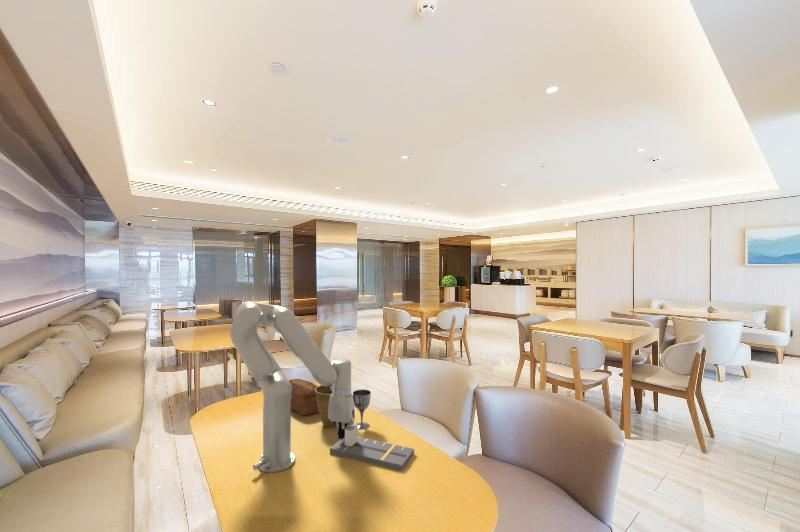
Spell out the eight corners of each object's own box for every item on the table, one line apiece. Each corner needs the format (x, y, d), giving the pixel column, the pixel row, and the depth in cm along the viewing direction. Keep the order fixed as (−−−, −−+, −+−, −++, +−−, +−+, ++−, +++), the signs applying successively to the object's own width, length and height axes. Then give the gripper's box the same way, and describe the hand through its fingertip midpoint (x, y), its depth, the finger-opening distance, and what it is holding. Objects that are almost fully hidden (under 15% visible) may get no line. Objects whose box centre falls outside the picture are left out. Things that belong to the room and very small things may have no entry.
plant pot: (345, 431, 152) (344, 394, 152) (311, 430, 152) (311, 394, 152) (350, 416, 167) (350, 382, 167) (319, 416, 167) (319, 382, 167)
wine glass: (349, 427, 155) (349, 393, 155) (359, 420, 162) (359, 388, 162) (364, 431, 152) (364, 396, 152) (374, 424, 159) (374, 391, 159)
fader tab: (351, 446, 134) (351, 429, 134) (344, 445, 135) (344, 428, 136) (358, 440, 139) (358, 424, 139) (351, 439, 140) (351, 423, 140)
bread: (303, 419, 164) (303, 393, 164) (276, 402, 184) (276, 379, 184) (328, 411, 174) (328, 386, 174) (300, 396, 194) (300, 374, 194)
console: (402, 471, 122) (402, 464, 122) (329, 453, 134) (329, 447, 134) (414, 454, 133) (414, 448, 133) (346, 439, 145) (346, 433, 145)
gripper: (320, 391, 138) (320, 438, 138) (353, 397, 133) (353, 445, 133) (331, 385, 145) (331, 430, 145) (362, 390, 140) (363, 436, 140)
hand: (342, 437), depth 139 cm, fingers closed
